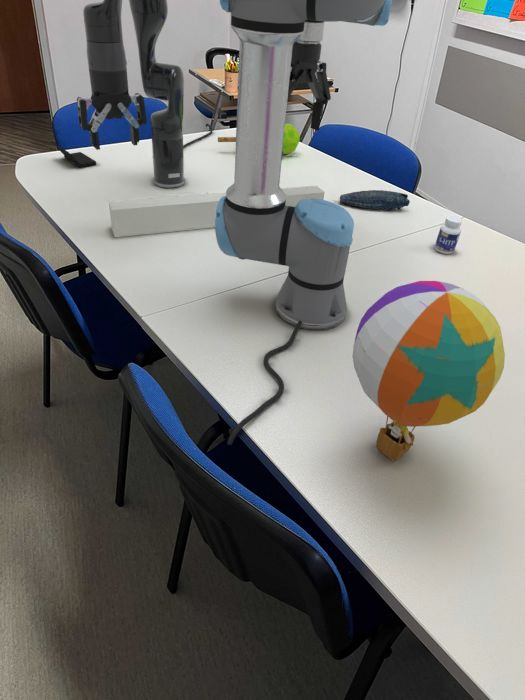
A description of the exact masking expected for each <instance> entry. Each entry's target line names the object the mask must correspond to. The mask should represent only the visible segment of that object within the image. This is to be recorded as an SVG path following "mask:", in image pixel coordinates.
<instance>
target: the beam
mask: <svg viewBox="0 0 525 700" xmlns="http://www.w3.org/2000/svg"><path fill="white" fill-rule="evenodd" d="M280 188H281V187H280ZM281 189H282V190H283V192H284V193H285V195H286V202H285V205H286V206H292V207H295V206H296V205H297V203H298V202H299V201H300V200H303V199H307V198H308V199H312V198H316V199H322V200H325V191H324V190H322V189H321V188H320V187H319V186H318V185H308V186H297V187H295V186H294V187H293V186H292V187H283V188H281ZM223 196H226V192H218V193H217V192H215V193H204V194H192V195H178V196H177V195H176V196H165V197H153V198H140V199H126V200H113V201H108V206H109V215H110V216H109V217H110V224H111V230H112V233H113V236H114V238H122V237H133V236H143V235H153V234H163V233H173V232H174V233H175V232H182V231H194V230H204V229H213V228H214V229H215V218H216V209H217V205H218V202H219V200H220V198H221V197H223Z"/></svg>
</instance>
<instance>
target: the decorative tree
mask: <svg viewBox="0 0 525 700" xmlns="http://www.w3.org/2000/svg"><path fill="white" fill-rule="evenodd" d="M300 137H301V136H300V132H299V131H298V129H297V128H296V127H295V126H294V125H292V123H285V131H284V141H283V151H282V155H289V154H291V153H293V152H295V151H296V150H297V148H298V145H299V143H300V140H301V138H300ZM217 143H236V136H218V137H217Z"/></svg>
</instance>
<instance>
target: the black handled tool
mask: <svg viewBox="0 0 525 700" xmlns="http://www.w3.org/2000/svg"><path fill="white" fill-rule="evenodd" d="M52 145H53V146H54V147H55V148H56V149H57V150H58V151H59V152H60V153H62V154H63V157H64V158H65V160H67V161H69V162H71V163H72V164H73V165H74V166H76V167H78V168H85V167H90V166H96V165H97V161H96V160H94V159H93V158H91V157H89V156H88V155H86V154H85V153H84V152H82V151H78V152H77V151H76V152H73V153H70V152H69V151H67V149H65V148H63V147H62V146H60V145H58V144H57V143H55V142H52Z"/></svg>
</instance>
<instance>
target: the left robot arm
mask: <svg viewBox="0 0 525 700" xmlns="http://www.w3.org/2000/svg"><path fill="white" fill-rule="evenodd" d="M128 3H129V8H130V13H131V17H132V22H133V27H134V32H135V38H136V43H137V50H138V59H139V68H140V78H141V84H142V88H143V92H144V93H145V96H147V97H148V98H150V99H153V100H158V101H166V102H167V103H168V104H167V108H164V109H161V110H158V111H155V112H152V113H151V115H150V133H151V150H152V166H153V184H154V185H155V186H158V187H160V188H165V189H173V188H174V189H175V188H179V187H182V186H184V185H185V167H184V162H185V161H184V149H185V147H188V146H189V145H191V144H193V143H195V142H197V141H200V140H203V139H205V138H207V136H210V135H212V133H213V128H212V126H211V125H210V124H209V123H206V124H205V127H208V128H209V130H210V131H209V132H208V133H206V134H204V135H202V136H200V137H198V138H195V139H193V140H191V141H188V142H186V143H185V144H184V124H183V123H184V122H183V121H184V94H185V77H184V71H183V69H182V67H181V66H179V65H177V64H172V63H171V64H170V63H163V62H157V59H156V45H157V41H158V39H159V36H160V35H161V32H162V30H163V28H164V25H165V23H166V20H167V18H168V14H169V13H168V12H169V7H168V0H128ZM122 6H123V0H103V1H99V2H92V3H88V4H86V5H84V7H83V10H82V11H83V14H82V15H83V23H84V31H85V38H86V57H87V65H88V73H89V74H88V75H89V82H90V83H89V84H90V90H91V96H90V98H85V97H82V96H78V97H76V107H77V117H78V127H80V128H81V129H82V130H83V131H88V132H89V139H90V144H91V146H92V147H93V148H94V149H95V150H96V151H99V150H101V145H100V136H99V132H98V129H99V128H100V125H102V124H103V123H104V120H105V119H106V120H108V121H109V120H114V119H117V120H119V119H122V118H123V117H124V119H126V120H127V121H128V123H129V124H130V126H129V131H130V142H131V144H132V146H138V143H140V139H141V138H140V127H141V126H143V125H144V126H145V125H146V124H147V122H148V120H147V113H146V104H145V103H146V102H145V97H144V96H143V95H142V94H140V93H139V92H136V93H134V94H132V95H130V93H129V81H128V79H129V78H128V69H127V68H128V67H127V65H128V62H127V57H126V49H125V45H124V37H123V26H122V24H123V23H122V9H123V8H122ZM131 104H132V105H134V106H135V109H136V116H137V118H135V117H134V116H133V114H132V113H131V112H130V110H128V109H129V107H130V106H131ZM91 105H92V107H93V108H94V109H95V110H94V111H93V113H92V115H91V119H90V121H89V122H88V111H89V109H90V106H91Z"/></svg>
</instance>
